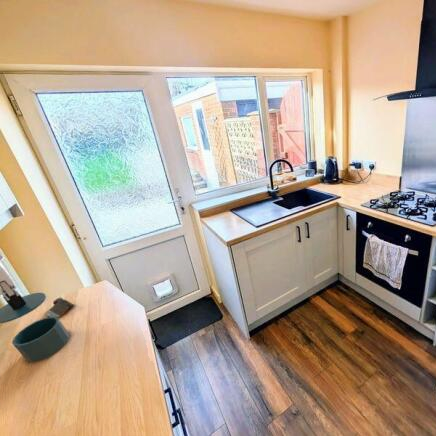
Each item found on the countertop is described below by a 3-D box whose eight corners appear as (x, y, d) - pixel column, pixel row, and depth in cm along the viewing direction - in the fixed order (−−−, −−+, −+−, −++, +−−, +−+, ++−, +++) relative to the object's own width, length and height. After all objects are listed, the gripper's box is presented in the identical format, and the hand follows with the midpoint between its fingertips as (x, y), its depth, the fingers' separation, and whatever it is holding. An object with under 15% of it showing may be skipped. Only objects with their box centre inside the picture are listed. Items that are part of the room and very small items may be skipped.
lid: (-1, 330, 76) (-15, 314, 73) (-12, 316, 82) (-25, 301, 79) (52, 301, 86) (42, 286, 83) (39, 291, 92) (29, 276, 90)
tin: (32, 368, 84) (18, 351, 80) (21, 353, 90) (7, 337, 86) (74, 339, 93) (64, 323, 90) (62, 327, 99) (51, 312, 96)
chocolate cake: (39, 316, 108) (35, 308, 100) (53, 302, 113) (51, 293, 105) (62, 325, 110) (60, 318, 102) (75, 310, 115) (74, 302, 107)
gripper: (-40, 261, 77) (-4, 305, 85) (-29, 273, 69) (10, 321, 76) (-6, 248, 82) (25, 291, 90) (8, 259, 74) (40, 304, 82)
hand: (18, 304), depth 83 cm, fingers closed on lid, 3 cm apart
